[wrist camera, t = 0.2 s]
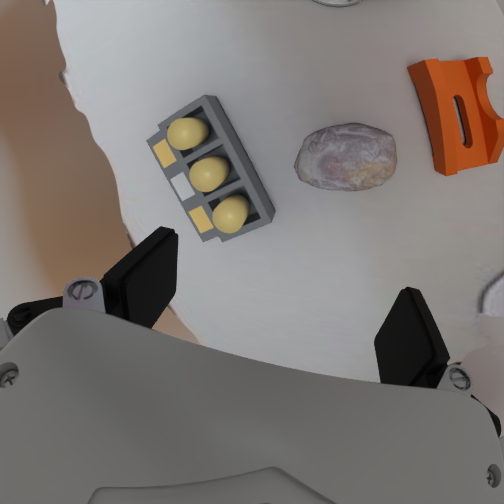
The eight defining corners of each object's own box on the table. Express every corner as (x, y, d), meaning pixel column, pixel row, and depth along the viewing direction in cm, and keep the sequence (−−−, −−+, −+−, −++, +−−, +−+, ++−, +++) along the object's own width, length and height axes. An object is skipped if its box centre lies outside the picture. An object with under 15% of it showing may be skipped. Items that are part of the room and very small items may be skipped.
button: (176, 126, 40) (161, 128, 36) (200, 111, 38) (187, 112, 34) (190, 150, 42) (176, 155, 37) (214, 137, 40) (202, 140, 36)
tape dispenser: (406, 67, 32) (424, 59, 25) (463, 62, 28) (487, 57, 21) (434, 169, 39) (455, 181, 32) (486, 158, 35) (511, 168, 28)
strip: (147, 140, 46) (145, 140, 45) (168, 125, 44) (166, 126, 43) (204, 240, 53) (202, 242, 53) (226, 231, 52) (224, 233, 51)
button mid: (196, 163, 42) (183, 169, 38) (221, 150, 41) (210, 154, 36) (210, 188, 44) (199, 197, 40) (235, 176, 42) (226, 183, 38)
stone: (295, 160, 49) (302, 209, 46) (283, 124, 40) (290, 176, 37) (385, 148, 44) (400, 195, 41) (389, 109, 35) (410, 160, 32)
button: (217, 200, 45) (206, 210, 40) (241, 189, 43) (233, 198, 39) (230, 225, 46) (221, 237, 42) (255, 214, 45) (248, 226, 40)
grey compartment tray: (172, 123, 44) (157, 124, 39) (216, 96, 41) (204, 94, 36) (230, 229, 51) (222, 242, 46) (275, 210, 48) (271, 222, 43)
